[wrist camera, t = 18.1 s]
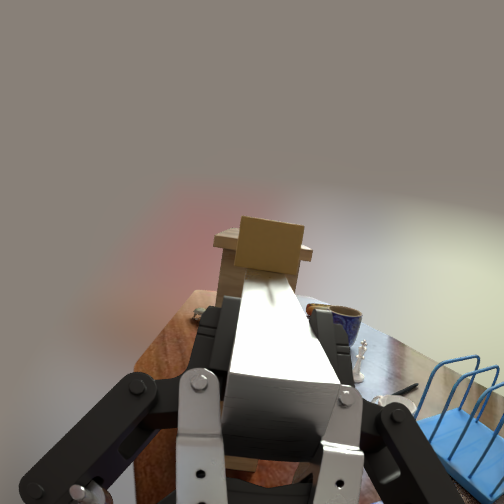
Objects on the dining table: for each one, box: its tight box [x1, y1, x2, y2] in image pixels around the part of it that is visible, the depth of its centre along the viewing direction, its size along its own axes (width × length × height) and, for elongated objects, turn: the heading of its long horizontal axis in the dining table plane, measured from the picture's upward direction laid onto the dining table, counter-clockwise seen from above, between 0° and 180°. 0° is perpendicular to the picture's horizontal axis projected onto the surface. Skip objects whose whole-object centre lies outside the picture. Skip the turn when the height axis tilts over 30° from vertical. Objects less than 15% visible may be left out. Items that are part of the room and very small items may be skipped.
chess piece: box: [353, 340, 367, 382], centre depth 69 cm, size 5×5×10 cm
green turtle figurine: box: [192, 308, 206, 320], centre depth 94 cm, size 9×11×5 cm
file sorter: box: [414, 355, 504, 504], centre depth 36 cm, size 25×17×15 cm
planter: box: [327, 306, 362, 348], centre depth 90 cm, size 11×11×11 cm
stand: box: [213, 228, 313, 472], centre depth 46 cm, size 25×10×31 cm, turn 0°
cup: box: [371, 395, 417, 415], centre depth 45 cm, size 7×10×8 cm
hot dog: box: [306, 303, 332, 316], centre depth 119 cm, size 5×13×5 cm, turn 95°
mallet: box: [220, 216, 341, 462], centre depth 19 cm, size 22×5×7 cm, turn 179°
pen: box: [392, 383, 418, 395], centre depth 61 cm, size 1×16×1 cm, turn 120°
